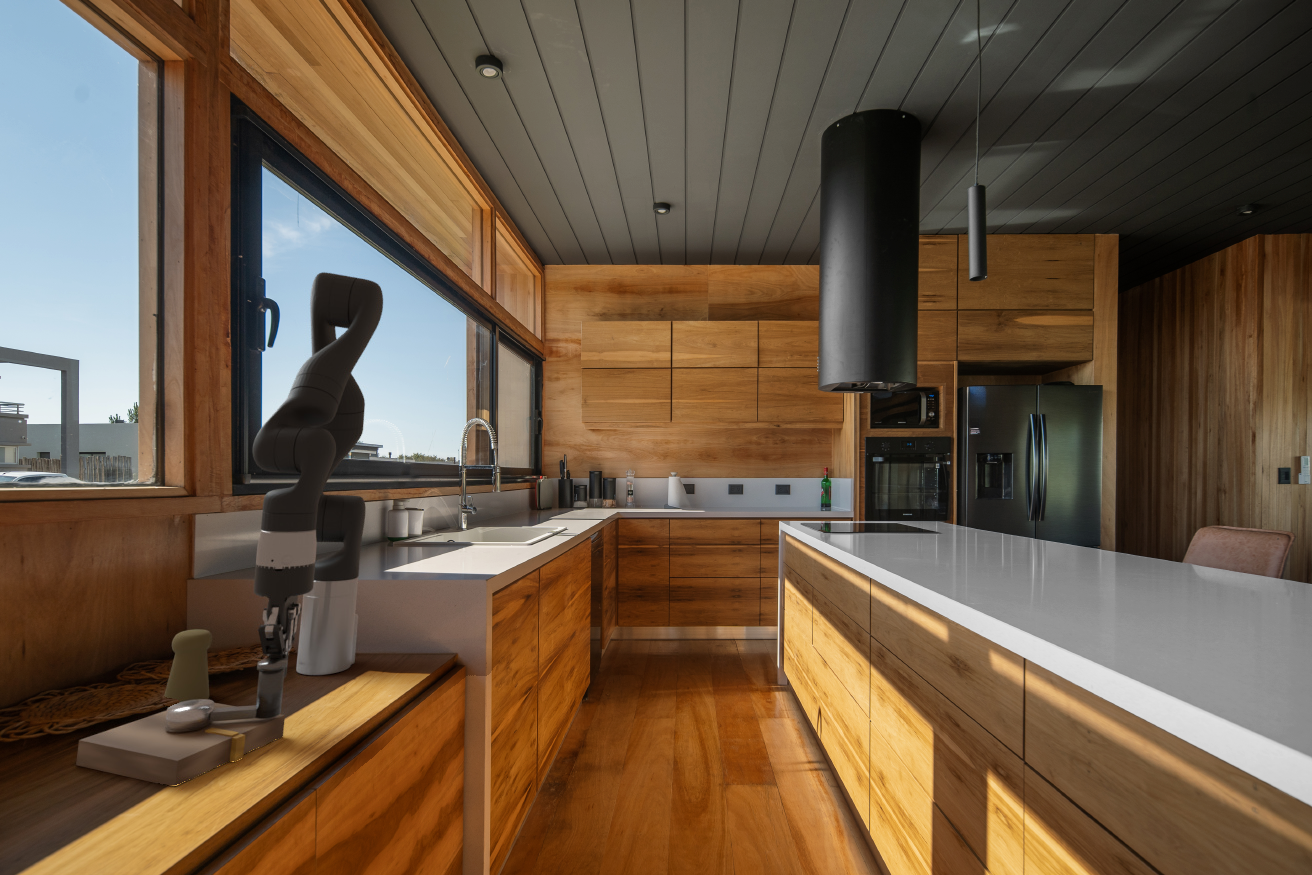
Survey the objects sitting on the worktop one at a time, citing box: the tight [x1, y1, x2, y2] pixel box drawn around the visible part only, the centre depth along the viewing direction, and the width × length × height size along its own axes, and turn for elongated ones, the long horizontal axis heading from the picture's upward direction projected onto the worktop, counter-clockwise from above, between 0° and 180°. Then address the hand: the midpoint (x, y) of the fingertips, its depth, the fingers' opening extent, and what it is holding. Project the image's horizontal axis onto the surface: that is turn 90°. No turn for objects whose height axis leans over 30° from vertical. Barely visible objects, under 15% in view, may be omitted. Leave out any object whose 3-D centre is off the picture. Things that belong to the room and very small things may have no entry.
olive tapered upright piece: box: [163, 628, 213, 703], centre depth 97 cm, size 6×6×11 cm
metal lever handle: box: [165, 658, 289, 732], centre depth 81 cm, size 13×5×8 cm, turn 111°
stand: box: [75, 702, 286, 785], centre depth 79 cm, size 15×17×3 cm
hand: (276, 679), depth 87 cm, fingers closed
